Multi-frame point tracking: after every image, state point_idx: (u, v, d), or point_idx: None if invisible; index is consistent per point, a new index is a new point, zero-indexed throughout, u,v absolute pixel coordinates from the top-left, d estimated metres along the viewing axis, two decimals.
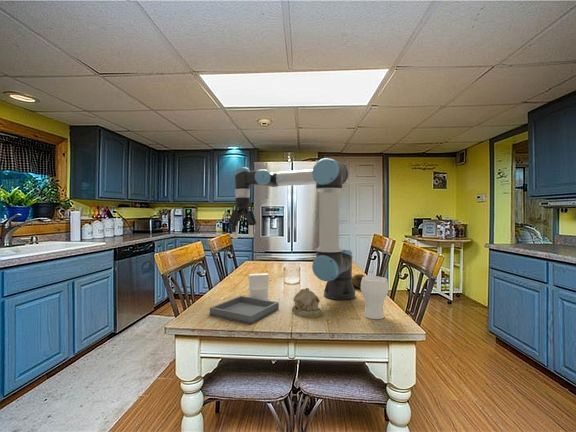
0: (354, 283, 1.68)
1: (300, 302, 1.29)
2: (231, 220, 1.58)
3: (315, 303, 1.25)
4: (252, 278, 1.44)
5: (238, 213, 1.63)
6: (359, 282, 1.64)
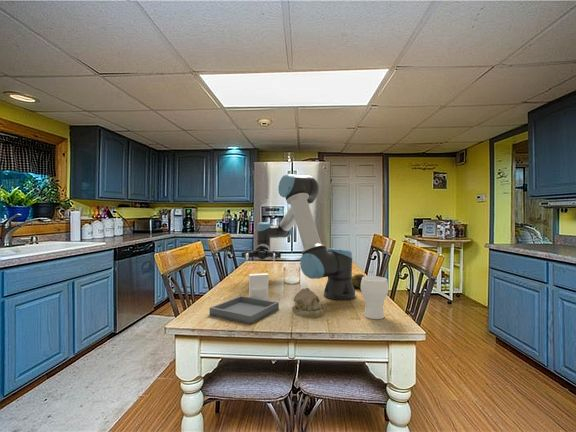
0: (354, 283, 1.68)
1: (300, 302, 1.29)
2: None
3: (315, 303, 1.26)
4: (252, 278, 1.44)
5: None
6: (359, 282, 1.64)
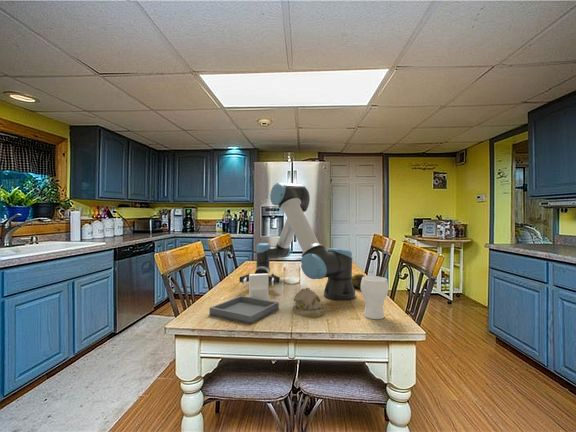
0: (354, 283, 1.68)
1: (301, 302, 1.29)
2: None
3: (316, 302, 1.26)
4: (252, 278, 1.44)
5: None
6: (359, 282, 1.64)
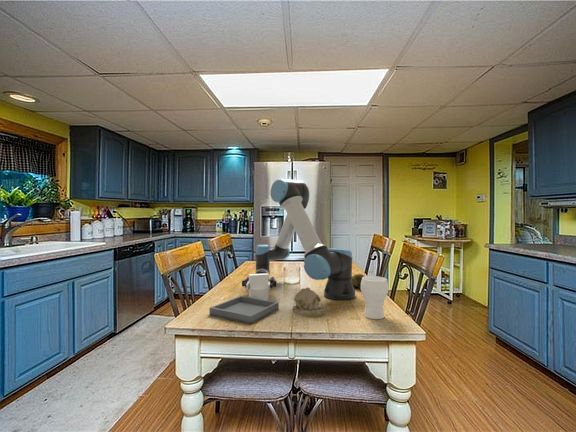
0: (354, 283, 1.68)
1: (301, 302, 1.29)
2: None
3: (316, 302, 1.27)
4: (252, 278, 1.44)
5: None
6: (359, 282, 1.65)
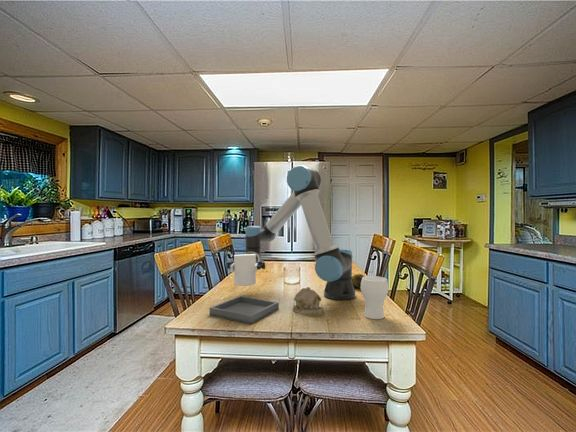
0: (354, 283, 1.68)
1: (302, 301, 1.30)
2: None
3: (317, 302, 1.27)
4: (237, 259, 1.30)
5: None
6: (359, 282, 1.65)
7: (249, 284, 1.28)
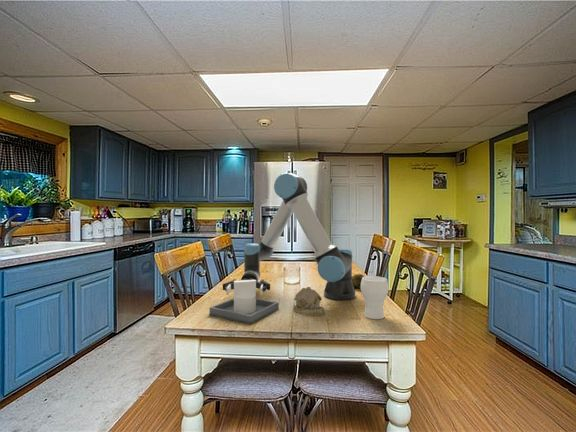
0: (353, 283, 1.68)
1: (302, 301, 1.30)
2: None
3: (318, 301, 1.28)
4: (237, 285, 1.27)
5: None
6: (358, 282, 1.65)
7: (249, 311, 1.26)
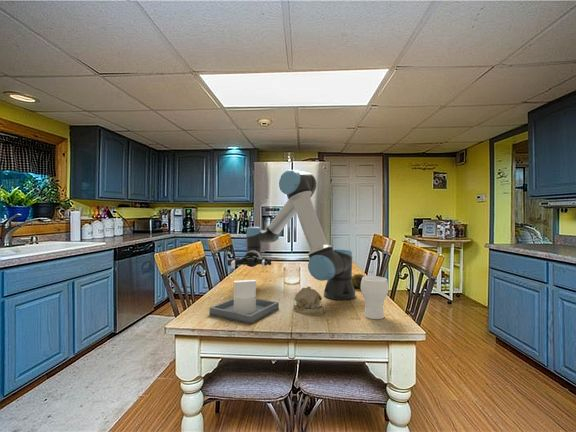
0: (353, 283, 1.68)
1: (303, 301, 1.31)
2: None
3: (318, 301, 1.29)
4: (237, 285, 1.27)
5: None
6: (358, 282, 1.65)
7: (249, 311, 1.26)
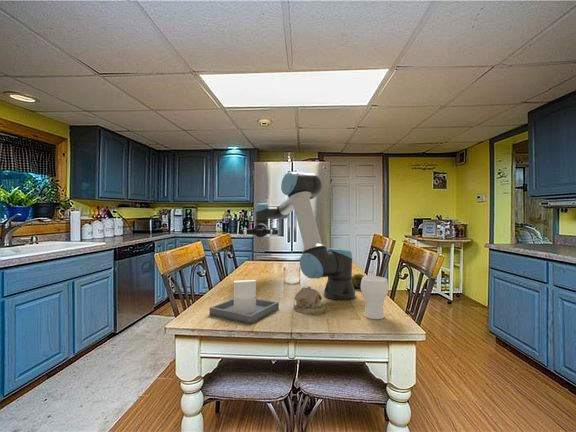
0: (353, 283, 1.68)
1: (303, 300, 1.31)
2: None
3: (319, 300, 1.29)
4: (237, 285, 1.27)
5: None
6: (358, 282, 1.65)
7: (249, 311, 1.26)
